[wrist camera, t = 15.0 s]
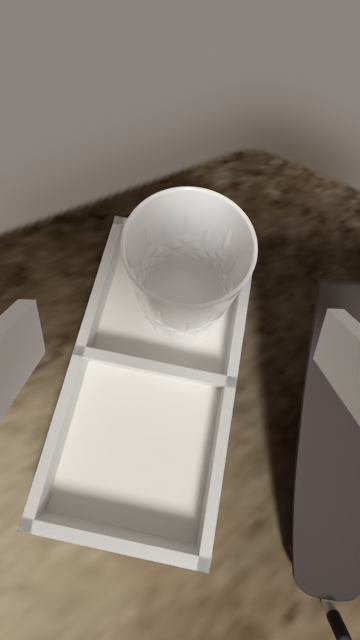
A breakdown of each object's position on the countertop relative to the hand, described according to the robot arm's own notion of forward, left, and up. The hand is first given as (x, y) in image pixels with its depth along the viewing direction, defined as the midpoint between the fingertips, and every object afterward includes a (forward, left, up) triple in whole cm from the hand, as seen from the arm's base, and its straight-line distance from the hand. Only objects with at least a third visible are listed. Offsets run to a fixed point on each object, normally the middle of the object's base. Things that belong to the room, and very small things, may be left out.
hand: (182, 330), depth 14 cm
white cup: (-1, +6, -12) cm, 13 cm away
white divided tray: (-2, 0, -13) cm, 13 cm away
